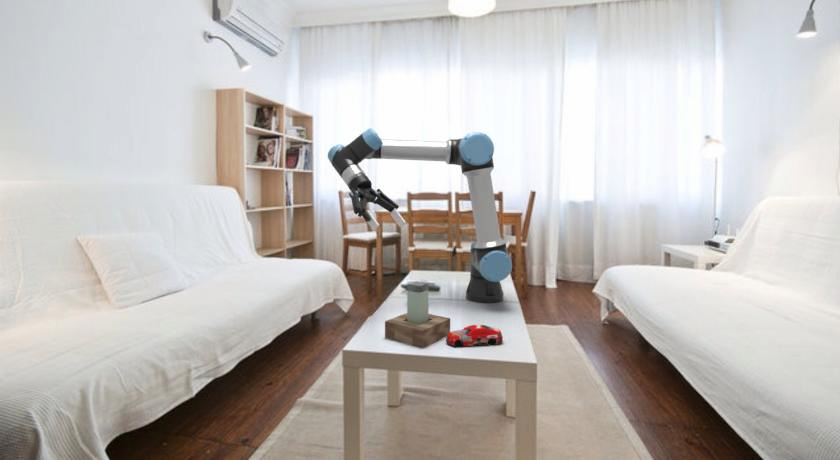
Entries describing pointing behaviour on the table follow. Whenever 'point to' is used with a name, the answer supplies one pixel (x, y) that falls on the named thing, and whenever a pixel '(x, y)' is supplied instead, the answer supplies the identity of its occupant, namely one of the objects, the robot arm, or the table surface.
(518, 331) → the table surface
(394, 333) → the collar block
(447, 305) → the table surface
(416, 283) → the pin
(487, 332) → the race car
